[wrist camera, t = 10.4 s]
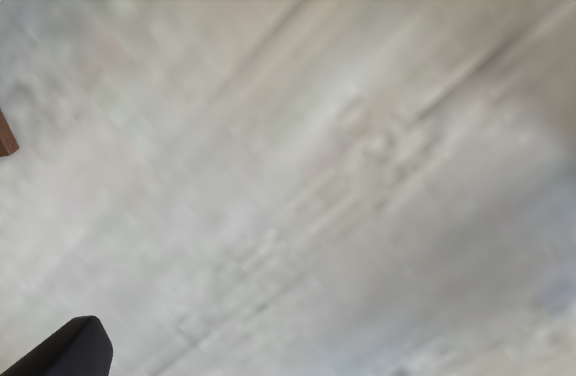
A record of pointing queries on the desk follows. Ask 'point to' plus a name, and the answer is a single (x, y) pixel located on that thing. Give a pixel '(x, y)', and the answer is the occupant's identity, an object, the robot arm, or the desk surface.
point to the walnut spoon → (6, 138)
